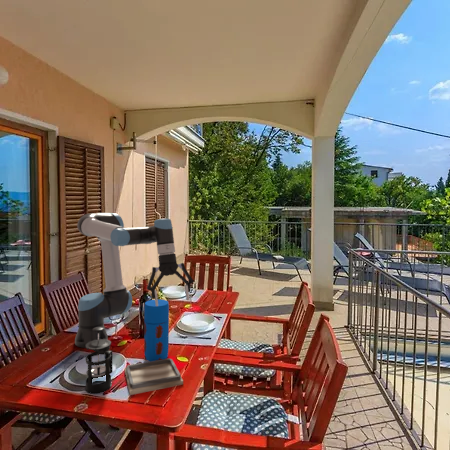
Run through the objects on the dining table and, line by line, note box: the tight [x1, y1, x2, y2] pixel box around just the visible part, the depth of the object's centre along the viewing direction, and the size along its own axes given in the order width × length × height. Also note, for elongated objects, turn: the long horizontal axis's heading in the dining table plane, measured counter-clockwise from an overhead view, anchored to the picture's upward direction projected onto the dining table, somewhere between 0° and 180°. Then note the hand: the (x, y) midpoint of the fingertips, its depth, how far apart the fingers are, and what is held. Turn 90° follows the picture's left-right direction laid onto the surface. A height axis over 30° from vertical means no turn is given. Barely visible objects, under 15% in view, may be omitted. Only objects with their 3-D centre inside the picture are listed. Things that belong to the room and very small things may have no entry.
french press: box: [84, 326, 113, 395], centre depth 126 cm, size 12×9×23 cm
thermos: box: [143, 298, 170, 362], centre depth 152 cm, size 11×11×25 cm
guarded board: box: [124, 357, 184, 396], centre depth 134 cm, size 18×20×3 cm
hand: (172, 302), depth 144 cm, fingers open, 13 cm apart
